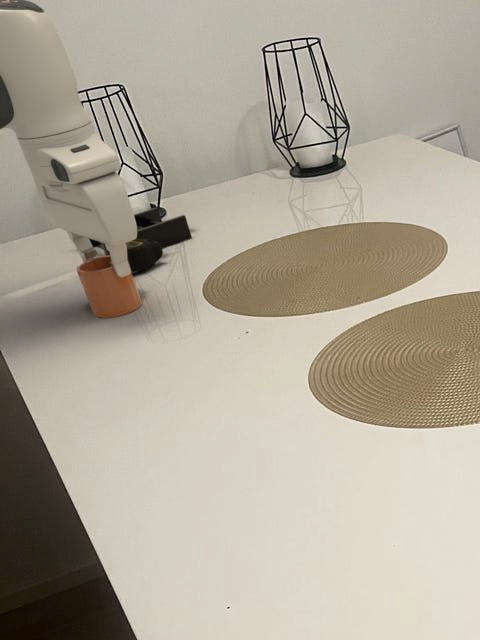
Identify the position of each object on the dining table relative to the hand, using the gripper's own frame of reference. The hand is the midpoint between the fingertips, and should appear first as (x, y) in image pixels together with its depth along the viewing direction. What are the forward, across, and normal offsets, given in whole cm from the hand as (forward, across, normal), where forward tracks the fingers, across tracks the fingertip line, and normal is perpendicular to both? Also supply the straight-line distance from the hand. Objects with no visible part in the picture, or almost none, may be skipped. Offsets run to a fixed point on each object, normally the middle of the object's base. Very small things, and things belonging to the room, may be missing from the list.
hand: (107, 269), depth 125 cm
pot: (+5, 0, 0) cm, 5 cm away
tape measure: (+5, -14, +10) cm, 18 cm away
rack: (+5, -24, +14) cm, 29 cm away
